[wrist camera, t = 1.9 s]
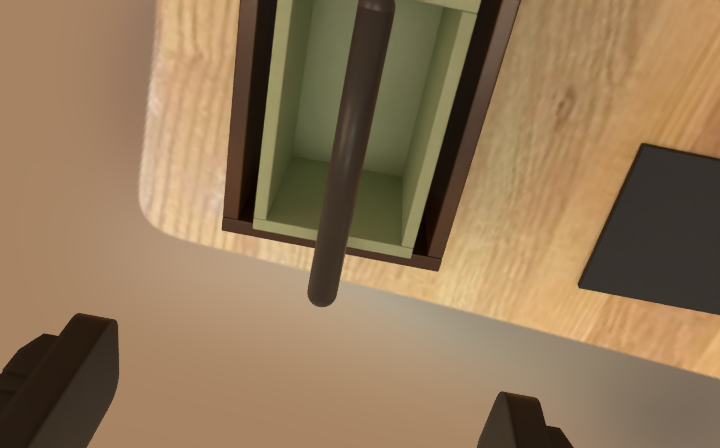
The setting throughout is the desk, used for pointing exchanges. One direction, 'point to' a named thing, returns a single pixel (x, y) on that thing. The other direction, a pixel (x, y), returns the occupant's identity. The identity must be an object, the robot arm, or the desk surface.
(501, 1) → the open wooden box
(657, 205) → the mat
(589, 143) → the desk surface
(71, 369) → the robot arm
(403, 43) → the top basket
